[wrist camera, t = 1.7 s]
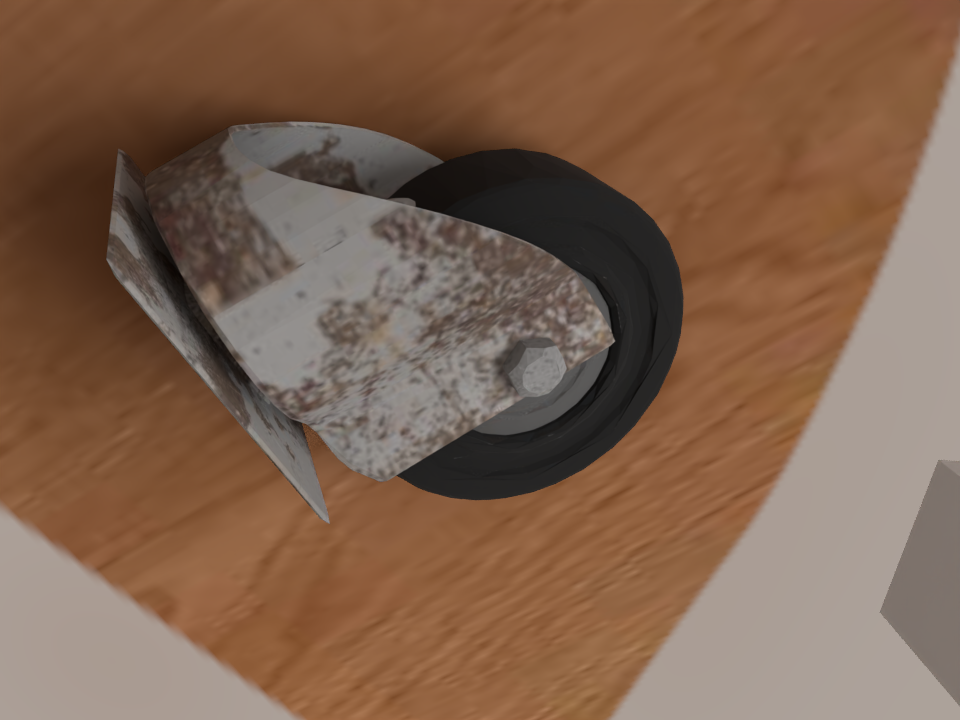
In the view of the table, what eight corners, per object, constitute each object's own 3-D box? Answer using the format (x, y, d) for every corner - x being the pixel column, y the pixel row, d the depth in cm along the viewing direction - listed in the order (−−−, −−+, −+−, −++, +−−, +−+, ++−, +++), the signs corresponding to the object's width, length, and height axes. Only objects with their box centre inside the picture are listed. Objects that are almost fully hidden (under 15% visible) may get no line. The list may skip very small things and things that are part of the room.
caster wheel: (630, 313, 24) (348, 483, 24) (492, -65, 18) (94, 157, 17) (770, 435, 19) (408, 659, 18) (646, -46, 12) (70, 283, 12)
